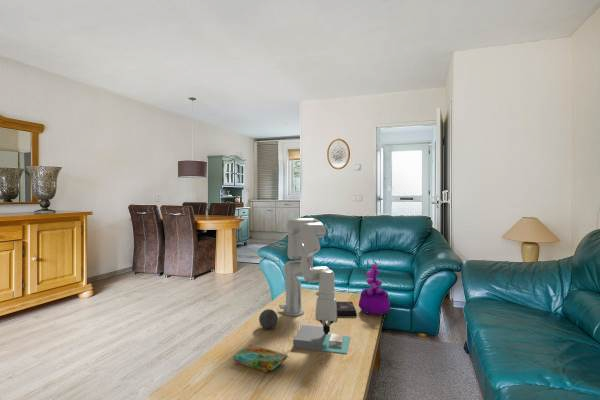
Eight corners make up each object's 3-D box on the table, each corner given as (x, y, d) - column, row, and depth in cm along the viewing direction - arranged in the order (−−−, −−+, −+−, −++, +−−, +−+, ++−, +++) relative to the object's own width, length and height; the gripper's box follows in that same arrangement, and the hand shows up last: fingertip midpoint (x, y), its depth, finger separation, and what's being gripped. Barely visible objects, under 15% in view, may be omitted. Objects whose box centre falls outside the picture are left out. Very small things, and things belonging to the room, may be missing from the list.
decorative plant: (374, 320, 189) (374, 268, 188) (352, 311, 204) (352, 262, 204) (396, 314, 199) (397, 264, 198) (374, 305, 214) (374, 259, 214)
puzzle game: (250, 342, 150) (287, 352, 141) (250, 352, 151) (287, 363, 141) (233, 353, 140) (272, 365, 131) (233, 364, 140) (272, 376, 131)
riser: (293, 347, 155) (293, 339, 155) (302, 332, 172) (302, 324, 172) (320, 351, 152) (320, 342, 152) (326, 334, 169) (326, 327, 169)
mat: (320, 351, 152) (320, 350, 152) (326, 334, 169) (326, 334, 169) (346, 354, 149) (346, 353, 149) (350, 337, 166) (350, 336, 166)
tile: (341, 341, 155) (341, 347, 155) (343, 334, 162) (343, 339, 162) (329, 340, 156) (329, 345, 156) (331, 333, 164) (331, 338, 164)
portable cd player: (357, 317, 195) (357, 310, 195) (328, 317, 195) (328, 310, 195) (352, 307, 211) (353, 301, 211) (326, 307, 212) (326, 301, 212)
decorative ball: (255, 329, 176) (255, 311, 176) (265, 323, 185) (265, 305, 184) (271, 333, 171) (271, 314, 171) (281, 326, 180) (281, 308, 180)
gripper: (309, 296, 158) (309, 334, 158) (341, 299, 154) (341, 338, 155) (313, 292, 165) (313, 328, 165) (342, 294, 162) (342, 331, 162)
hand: (326, 333), depth 160 cm, fingers closed
